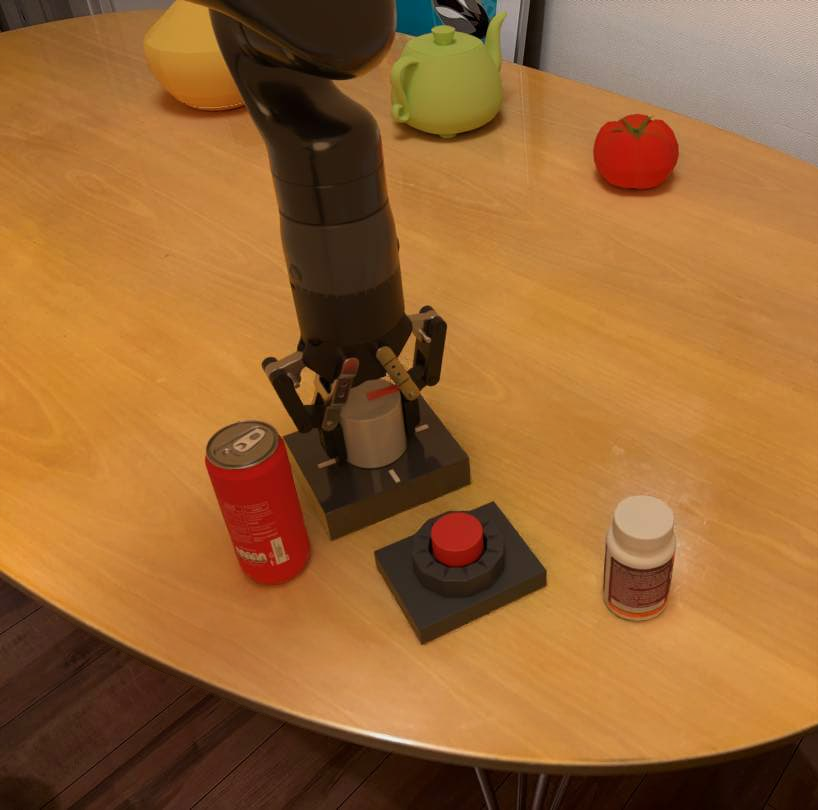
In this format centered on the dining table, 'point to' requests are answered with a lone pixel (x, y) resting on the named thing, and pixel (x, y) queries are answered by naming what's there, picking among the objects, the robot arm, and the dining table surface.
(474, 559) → the button
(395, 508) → the panel
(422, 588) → the control block
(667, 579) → the pill bottle
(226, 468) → the beverage can
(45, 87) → the dining table surface
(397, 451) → the hob knob
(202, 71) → the vase
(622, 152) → the tomato
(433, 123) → the teapot
